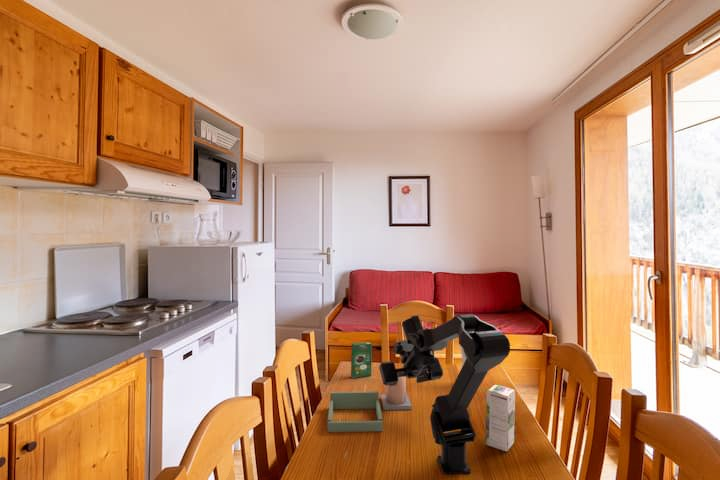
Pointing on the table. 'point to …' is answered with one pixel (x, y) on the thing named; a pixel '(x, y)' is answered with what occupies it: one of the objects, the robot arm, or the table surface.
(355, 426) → the frame
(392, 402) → the pink tall rounded piece
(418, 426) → the table surface
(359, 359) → the coffee box
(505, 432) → the syrup box
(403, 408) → the slate tile
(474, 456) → the table surface
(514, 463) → the table surface
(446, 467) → the robot arm
